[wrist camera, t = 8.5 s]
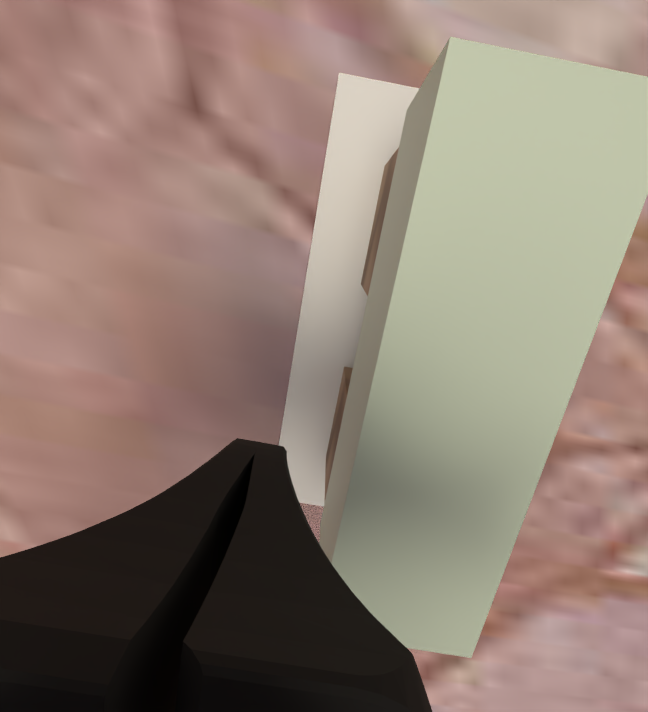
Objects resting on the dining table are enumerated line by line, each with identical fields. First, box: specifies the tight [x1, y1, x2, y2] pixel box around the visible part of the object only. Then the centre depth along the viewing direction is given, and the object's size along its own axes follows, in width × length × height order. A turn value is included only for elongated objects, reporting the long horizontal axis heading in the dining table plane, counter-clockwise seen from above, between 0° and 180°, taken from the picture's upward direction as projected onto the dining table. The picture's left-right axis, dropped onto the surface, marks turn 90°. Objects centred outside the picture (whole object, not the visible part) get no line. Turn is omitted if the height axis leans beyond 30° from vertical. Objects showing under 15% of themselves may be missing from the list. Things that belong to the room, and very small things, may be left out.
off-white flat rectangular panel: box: [279, 73, 419, 507], centre depth 20 cm, size 20×10×1 cm, turn 170°
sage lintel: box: [319, 37, 648, 658], centre depth 13 cm, size 16×5×5 cm, turn 170°
